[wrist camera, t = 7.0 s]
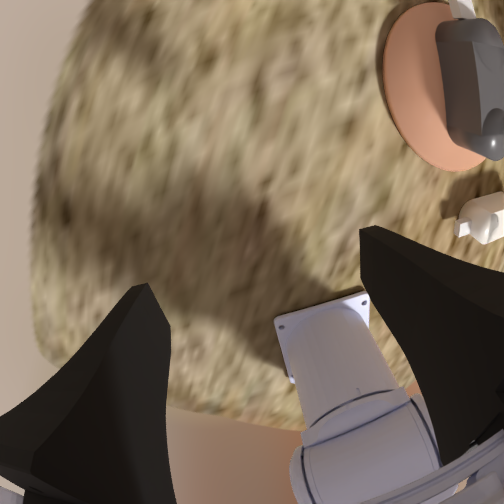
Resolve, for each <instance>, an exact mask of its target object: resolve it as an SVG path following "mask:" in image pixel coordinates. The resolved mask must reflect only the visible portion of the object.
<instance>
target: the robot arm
mask: <svg viewBox="0 0 504 504" xmlns="http://www.w3.org/2000/svg"><path fill="white" fill-rule="evenodd" d="M359 235H360V278H361V280H362V283H363V285H364V287H365V289H366V291H362V292H359V293H356V294H353V295H349V296H346V297H343V298H340V299H336V300H333V301H330V302H326V303H323V304H320V305H316V306H313V307H309V308H306V309H302V310H299V311H295V312H292V313H288V314H284V315H281V316H278V317H276V318H275V319H274V325H275V329H276V332H277V336H278V339H279V343H280V347H281V350H282V354H283V358H284V361H285V365H286V368H287V372H288V376H289V379H290V382H291V383H295V385H296V389H297V393H298V396H299V400H300V404H301V408H302V412H303V415H304V419H305V423H306V427H307V430H305V431H303V432H301V437H302V441H303V445H301V446H298V447H297V448H296V449H295V450H294V453H293V456H292V458H291V460H290V466H289V472H290V479H291V485H292V489H293V492H294V494H295V497H296V500H297V502H298V504H504V273H503V272H499V271H495V270H491V269H487V268H484V267H480V266H477V265H474V264H471V263H468V262H465V261H462V260H459V259H456V258H453V257H451V256H448V255H446V254H443V253H441V252H438V251H436V250H433V249H431V248H429V247H426V246H424V245H422V244H419V243H417V242H415V241H413V240H410V239H408V238H406V237H404V236H401V235H399V234H397V233H395V232H392V231H390V230H387V229H385V228H382V227H379V226H376V225H374V226H371V227H367V228H363V229H359ZM370 299H371V301H372V303H373V304H374V306H375V308H376V309H377V311H378V312H379V314H380V315H381V317H382V318H383V320H384V322H385V323H386V325H387V326H388V328H389V329H390V331H391V332H392V334H393V336H394V337H395V339H396V340H397V342H398V344H399V345H400V347H401V348H402V350H403V352H404V354H405V356H406V358H407V360H408V362H409V364H410V366H411V369H412V371H413V373H414V375H415V378H416V380H417V382H418V385H419V387H420V390H421V392H422V395H420V394H418V393H416V394H414V395H412V396H410V399H409V397H408V395H407V393H406V391H405V389H404V387H403V386H402V387H399V385H398V383H397V381H396V379H395V377H394V376H393V374H392V372H391V370H390V368H389V366H388V364H387V362H386V360H385V358H384V356H383V354H382V353H381V351H380V349H379V347H378V345H377V343H376V341H375V339H374V338H373V336H372V334H371V332H370V330H369V304H370ZM363 301H364V302H363ZM281 325H283V326H281ZM279 326H281V327H279ZM170 357H171V330H170V324H169V322H168V321H167V319H166V317H165V315H164V313H163V311H162V309H161V308H160V306H159V304H158V302H157V300H156V298H155V296H154V294H153V292H152V290H151V288H150V286H149V284H148V283H145V284H141V285H137V286H132V287H131V288H130V289H129V290H128V291H127V292H126V293H125V295H124V296H123V297H122V298H121V299H120V300H119V302H118V303H117V304H116V305H115V306H114V308H113V309H112V310H111V311H110V313H109V314H108V315H107V316H106V318H105V319H104V320H103V321H102V323H101V324H100V325H99V326H98V328H97V329H96V330H95V331H94V332H93V333H92V335H91V336H90V337H89V338H88V339H87V341H86V342H85V343H84V344H83V345H82V347H81V348H80V349H79V350H78V351H77V352H76V353H75V354H74V356H73V357H72V358H71V359H70V360H69V361H68V362H67V363H66V364H65V365H64V366H63V367H62V368H61V369H60V370H59V371H58V372H57V373H56V374H55V375H54V376H52V377H51V378H50V379H49V380H48V381H47V382H46V383H45V384H44V385H42V386H41V387H40V388H39V389H38V390H37V391H36V392H35V393H33V394H32V395H31V396H29V397H28V398H27V399H26V400H24V401H23V402H21V403H20V404H19V405H17V406H16V407H15V408H13V409H12V410H10V411H9V412H7V413H6V414H4V415H2V416H0V475H1V476H2V477H4V478H5V479H7V480H9V481H10V482H12V483H14V484H15V485H17V486H19V487H21V488H23V489H24V490H25V493H24V496H22V495H20V494H18V493H15V492H13V491H11V490H8V489H5V488H3V487H1V486H0V504H177V503H176V498H175V494H174V489H173V484H172V478H171V472H170V466H169V458H168V448H167V436H166V416H165V415H166V399H167V388H168V377H169V367H170ZM468 477H469V479H468V480H467V484H466V487H465V488H464V489H463V490H461V491H460V492H458V493H456V494H454V493H455V491H456V490H457V488H458V483H460V482H461V481H463V480H465V479H466V478H468Z"/></svg>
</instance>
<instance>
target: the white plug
mask: <svg viewBox="0 0 504 504" xmlns="http://www.w3.org/2000/svg"><path fill="white" fill-rule="evenodd" d="M454 234H455V235H456V236H458V237H461V236H464V235H467V234H470V235H472V236H473V237H474V238H475V239H477V240H478V241H479V242H480V243H482V244H487V243H489V242H492V241H494V240H497V239H499V238H501V237H503V236H504V192H502V191H500V192H496V193H493V194H489V195H486V196H482V197H479V198H475V199H472V200H469V201H467V202H466V203H465V204H464V205H463V207H462V209H461V211H460V213H459V219H458V220H455V228H454Z"/></svg>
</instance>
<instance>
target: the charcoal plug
mask: <svg viewBox="0 0 504 504" xmlns="http://www.w3.org/2000/svg"><path fill="white" fill-rule="evenodd" d="M448 2H449V5H450V9H451V13H452V16H453V19H458V20H451V21H444V22H441V23H440V24H439V25H438V26H437V28H436V32H435V40H436V45H437V51H438V56H439V62H440V68H441V75H442V82H443V90H444V98H445V109H446V122H447V130H448V134H449V136H450V138H451V140H452V141H453V142H454V143H455V144H456V145H458V146H460V147H462V148H465V149H467V150H470V151H472V152H475V153H477V154H479V155H481V156H484V157H486V158H488V159H490V160H493V161H498V160H500V159H502V158H503V157H504V45H503V42H502V39H501V37H500V35H499V33H498V31H497V30H496V28H495V27H494V26H493V25H492V24H491V23H490V22H489V21H488V20H486V19H483V18H476V16H475V12H474V8H473V4H472V1H471V0H448Z"/></svg>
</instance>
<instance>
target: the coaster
mask: <svg viewBox="0 0 504 504" xmlns="http://www.w3.org/2000/svg"><path fill="white" fill-rule="evenodd" d="M451 20H458V19H453V16H452V13H451V9H450V5H448V4H444V3H437V2H431V3H424V4H420V5H417V6H414V7H412V8H410V9H408V10H406V11H405V12H404V13H403V14H401V15H400V16H399V18H398V19H397V20H396V21H395V22H394V24H393V26H392V28H391V29H390V32H389V34H388V37H387V39H386V43H385V48H384V53H383V63H382V66H383V83H384V91H385V95H386V100H387V104H388V107H389V110H390V113H391V116H392V118H393V120H394V123H395V125H396V127H397V129H398V130H399V132H400V134H401V136H402V137H403V139H404V140H405V142H406V143H407V144H408V146H409V147H410V148H411V149H412V150H413V151H414V152H415V153H416V154H417V155H418V156H419V157H420V158H422V159H423V160H425V161H426V162H428V163H429V164H431V165H433V166H436V167H438V168H440V169H443V170H447V171H455V172H457V171H464V170H468V169H471V168H473V167H475V166H477V165H478V164H480V163H481V162H482V161H484V160H485V159H486V157H484V156H481V155H479V154H477V153H475V152H472V151H470V150H467V149H465V148H462V147H460V146H458V145H456V144H455V143H454V142H453V141H452V140H451V138H450V136H449V134H448V130H447V122H446V109H445V98H444V90H443V82H442V75H441V68H440V62H439V56H438V51H437V45H436V40H435V32H436V28H437V26H438V25H439V24H440V23H441V22H444V21H451Z"/></svg>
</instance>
